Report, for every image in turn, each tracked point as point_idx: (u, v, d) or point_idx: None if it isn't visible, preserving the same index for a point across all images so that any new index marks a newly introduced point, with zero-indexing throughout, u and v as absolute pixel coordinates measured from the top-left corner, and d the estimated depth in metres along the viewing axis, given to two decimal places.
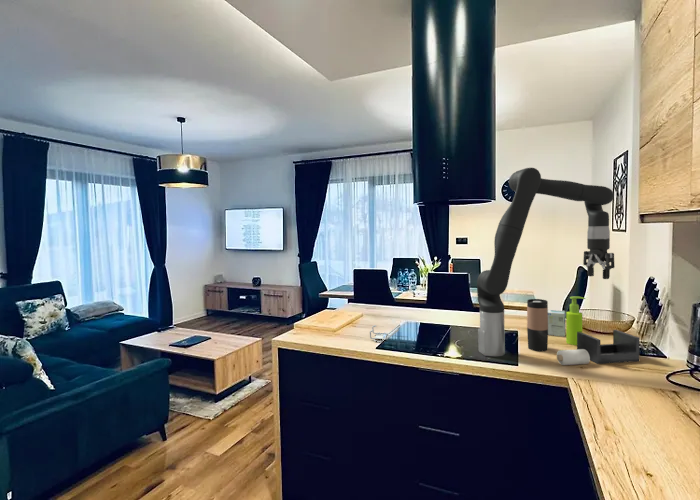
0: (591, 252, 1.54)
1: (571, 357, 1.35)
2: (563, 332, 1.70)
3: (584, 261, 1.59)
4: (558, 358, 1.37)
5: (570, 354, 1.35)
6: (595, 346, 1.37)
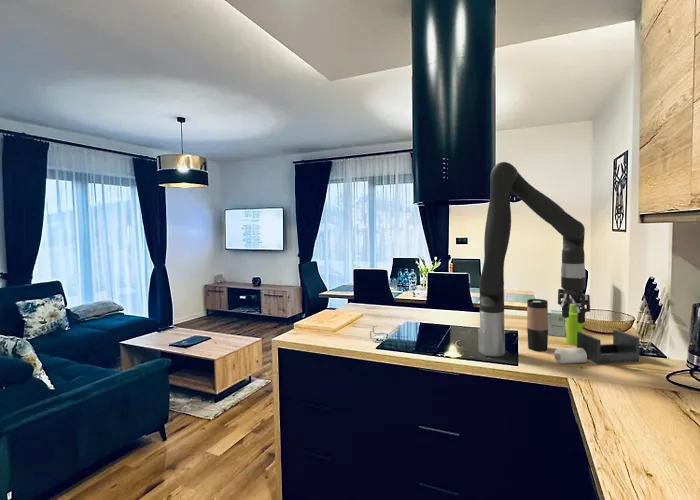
0: (565, 291, 1.38)
1: (567, 352, 1.37)
2: (563, 332, 1.70)
3: (558, 300, 1.42)
4: (556, 357, 1.38)
5: (565, 350, 1.38)
6: (595, 346, 1.37)
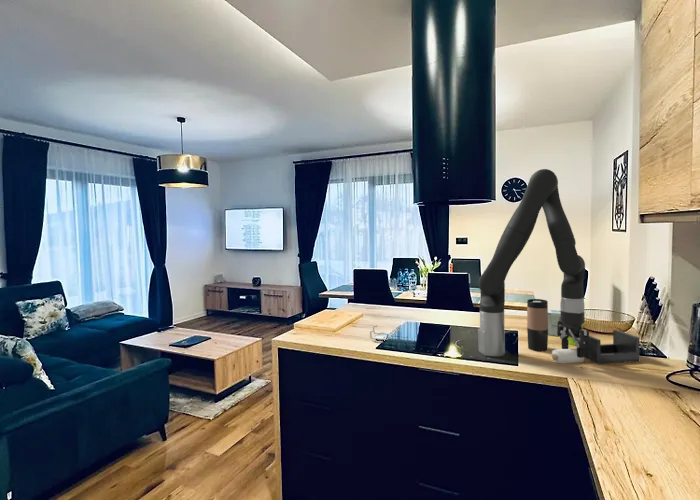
0: (565, 324, 1.40)
1: None
2: None
3: (558, 332, 1.44)
4: (554, 356, 1.39)
5: None
6: (595, 346, 1.37)
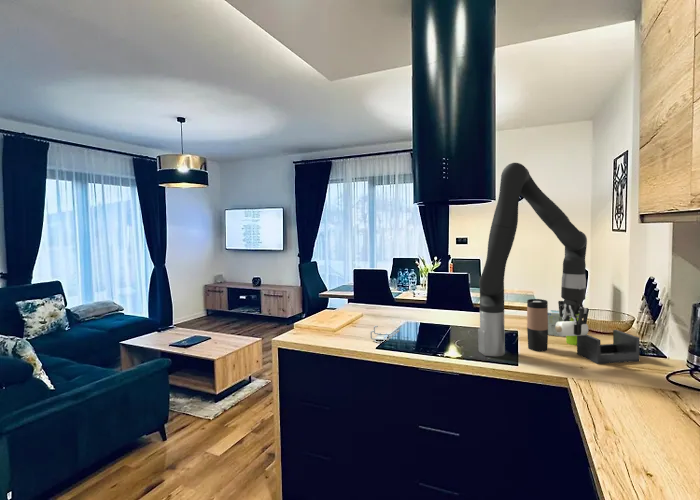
0: (565, 301, 1.38)
1: (566, 321, 1.36)
2: None
3: (560, 312, 1.41)
4: (557, 329, 1.36)
5: None
6: (595, 346, 1.37)
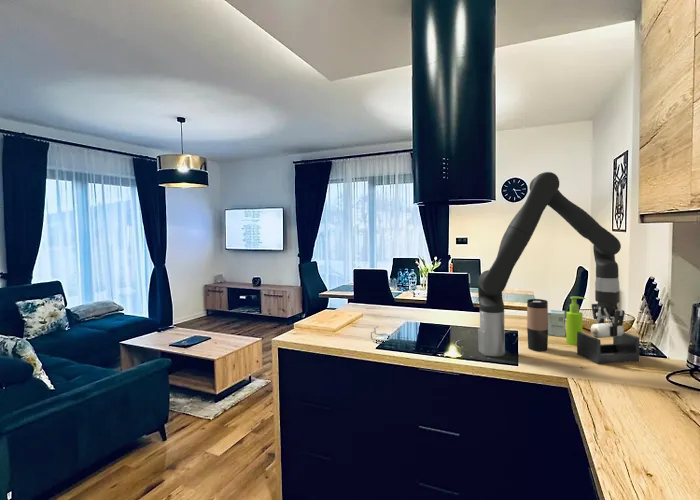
0: (599, 303, 1.44)
1: (601, 323, 1.41)
2: (563, 332, 1.70)
3: (594, 315, 1.47)
4: (593, 331, 1.41)
5: None
6: (595, 346, 1.37)
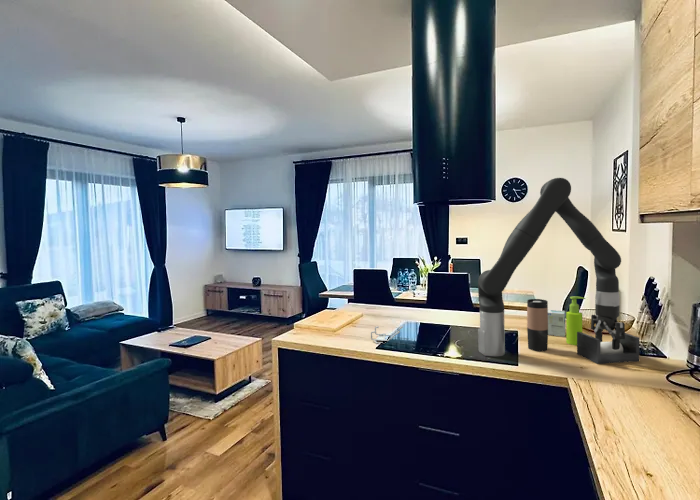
0: (599, 317, 1.44)
1: (600, 342, 1.42)
2: (563, 332, 1.70)
3: (592, 325, 1.48)
4: None
5: None
6: (595, 346, 1.37)
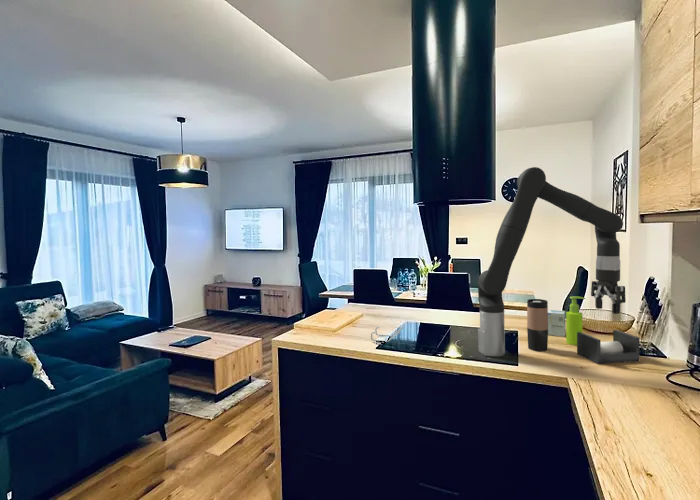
0: (600, 283, 1.43)
1: (601, 342, 1.42)
2: (563, 332, 1.70)
3: (592, 292, 1.47)
4: None
5: None
6: (595, 346, 1.37)
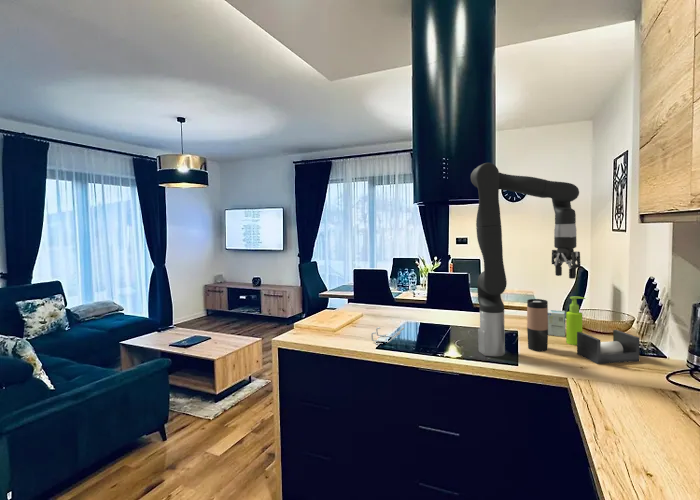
0: (558, 251, 1.50)
1: (601, 342, 1.42)
2: (563, 332, 1.70)
3: (552, 260, 1.54)
4: None
5: None
6: (595, 346, 1.37)
